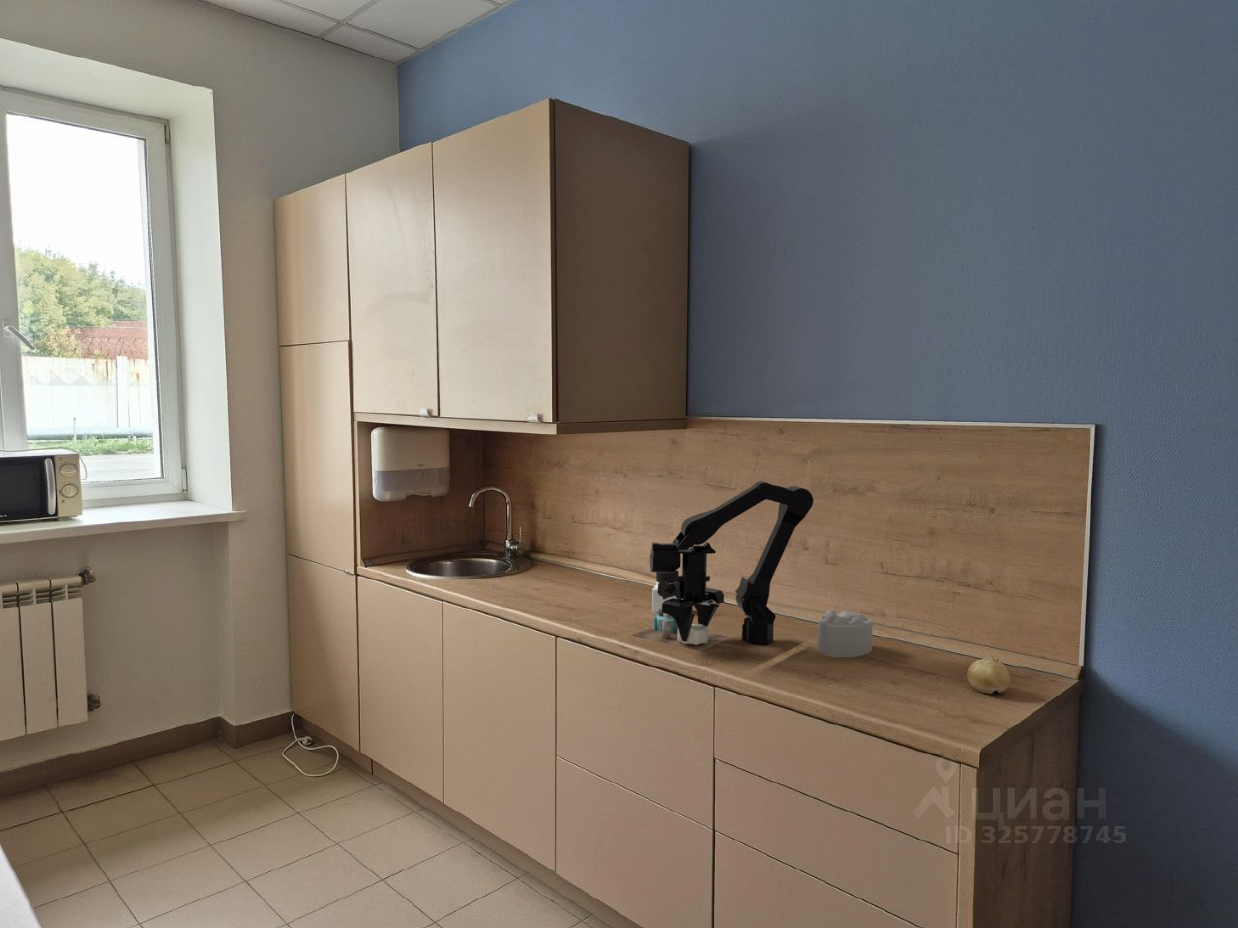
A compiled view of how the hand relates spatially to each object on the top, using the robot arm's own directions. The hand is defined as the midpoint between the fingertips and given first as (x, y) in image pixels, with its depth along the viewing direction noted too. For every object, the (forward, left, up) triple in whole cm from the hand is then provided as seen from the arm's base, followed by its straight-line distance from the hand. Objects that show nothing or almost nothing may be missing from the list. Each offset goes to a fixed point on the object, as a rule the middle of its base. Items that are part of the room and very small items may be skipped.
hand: (693, 637), depth 199 cm
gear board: (+5, -2, -2) cm, 6 cm away
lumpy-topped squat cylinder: (-28, -20, -2) cm, 35 cm away
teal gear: (+11, -6, -1) cm, 13 cm away
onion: (-62, -11, -2) cm, 64 cm away
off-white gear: (0, 0, -1) cm, 1 cm away
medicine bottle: (+23, -22, -2) cm, 32 cm away
